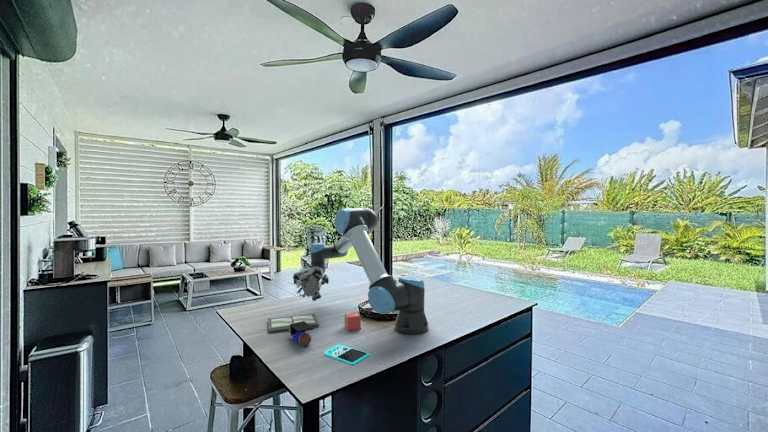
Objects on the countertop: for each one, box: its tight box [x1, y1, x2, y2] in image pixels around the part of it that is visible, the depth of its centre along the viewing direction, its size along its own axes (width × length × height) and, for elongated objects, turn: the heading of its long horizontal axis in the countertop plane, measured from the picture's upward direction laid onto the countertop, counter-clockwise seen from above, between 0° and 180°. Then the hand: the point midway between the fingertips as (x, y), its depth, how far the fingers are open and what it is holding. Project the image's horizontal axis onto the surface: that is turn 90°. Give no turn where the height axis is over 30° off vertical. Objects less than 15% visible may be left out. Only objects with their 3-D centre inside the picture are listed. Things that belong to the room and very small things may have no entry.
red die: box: [344, 311, 362, 331], centre depth 158 cm, size 6×6×6 cm
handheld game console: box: [323, 343, 371, 366], centre depth 131 cm, size 10×16×1 cm, turn 55°
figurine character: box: [288, 321, 314, 347], centre depth 144 cm, size 7×8×15 cm
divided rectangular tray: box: [267, 313, 320, 334], centre depth 163 cm, size 16×22×2 cm
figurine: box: [292, 267, 322, 302], centre depth 166 cm, size 9×12×15 cm
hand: (308, 285), depth 163 cm, fingers closed on figurine, 10 cm apart
